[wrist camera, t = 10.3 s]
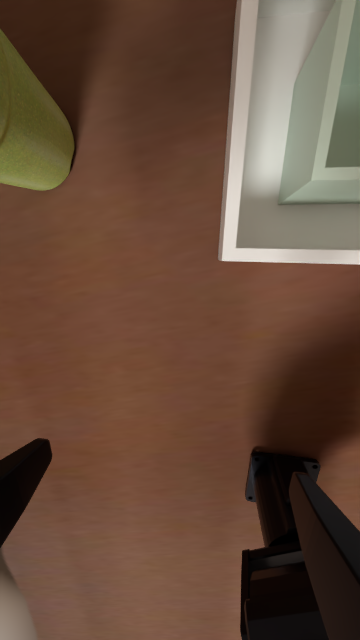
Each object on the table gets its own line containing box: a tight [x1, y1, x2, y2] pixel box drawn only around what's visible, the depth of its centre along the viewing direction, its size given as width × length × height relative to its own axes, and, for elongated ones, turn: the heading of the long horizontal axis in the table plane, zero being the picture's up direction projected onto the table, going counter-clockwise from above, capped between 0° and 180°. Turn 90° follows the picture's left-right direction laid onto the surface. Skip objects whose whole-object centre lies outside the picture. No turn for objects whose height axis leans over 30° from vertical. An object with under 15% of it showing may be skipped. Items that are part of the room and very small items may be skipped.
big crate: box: [218, 0, 360, 264], centre depth 12 cm, size 14×14×5 cm
